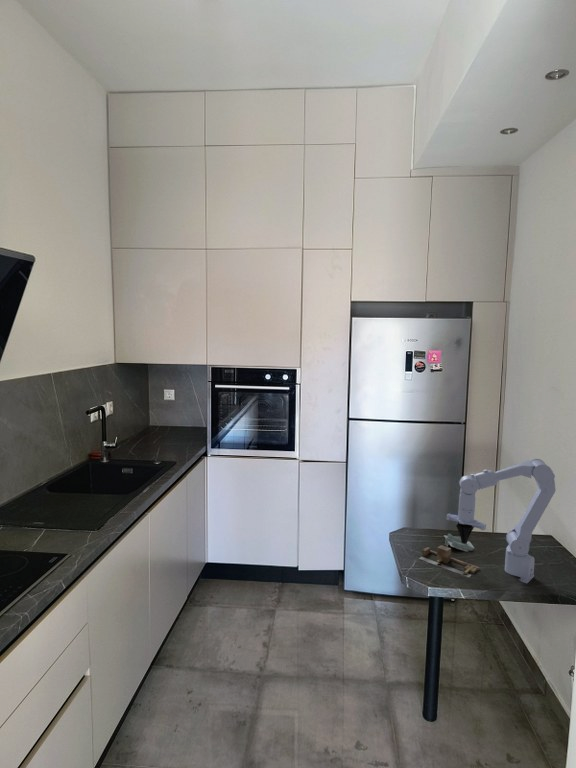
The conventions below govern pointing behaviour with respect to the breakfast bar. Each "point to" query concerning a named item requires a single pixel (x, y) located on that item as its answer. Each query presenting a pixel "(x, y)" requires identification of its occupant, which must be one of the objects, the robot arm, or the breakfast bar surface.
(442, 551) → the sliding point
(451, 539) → the metal bracket
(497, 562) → the breakfast bar surface
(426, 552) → the gauge board
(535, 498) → the robot arm
